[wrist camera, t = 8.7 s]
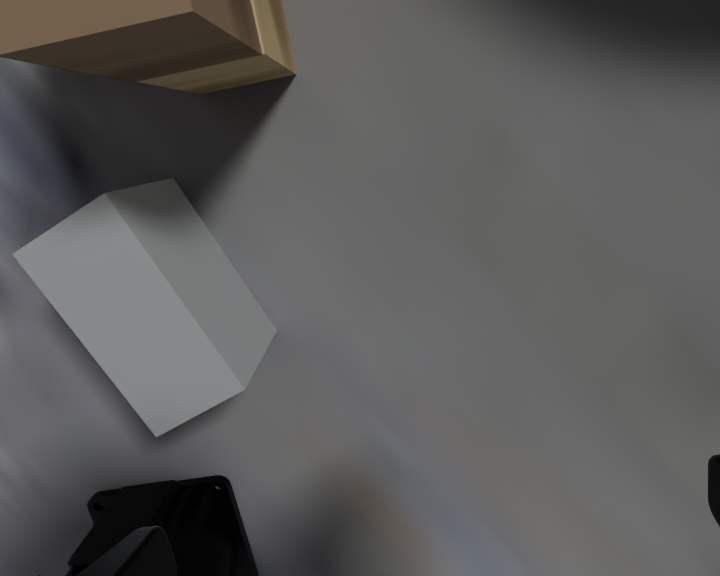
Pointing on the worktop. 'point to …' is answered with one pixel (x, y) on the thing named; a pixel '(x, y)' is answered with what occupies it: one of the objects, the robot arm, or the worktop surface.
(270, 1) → the oak brick
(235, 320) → the grey brick
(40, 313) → the worktop surface
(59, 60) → the walnut brick
